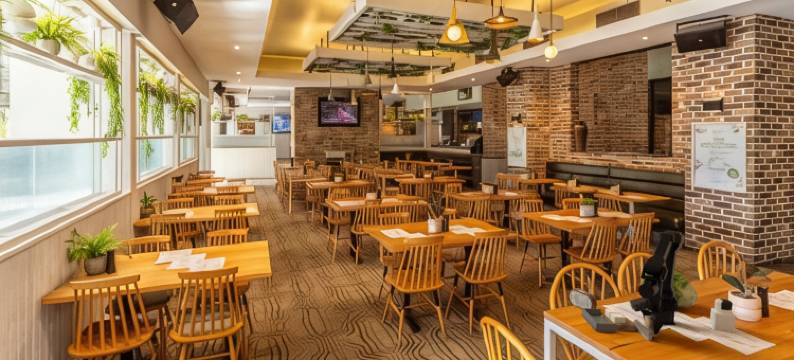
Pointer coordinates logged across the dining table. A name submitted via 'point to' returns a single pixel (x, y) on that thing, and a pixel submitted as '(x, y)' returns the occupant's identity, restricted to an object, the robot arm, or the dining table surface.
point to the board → (622, 324)
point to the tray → (598, 320)
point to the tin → (582, 298)
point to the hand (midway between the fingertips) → (651, 330)
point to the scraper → (646, 328)
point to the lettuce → (683, 290)
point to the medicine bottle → (723, 316)
